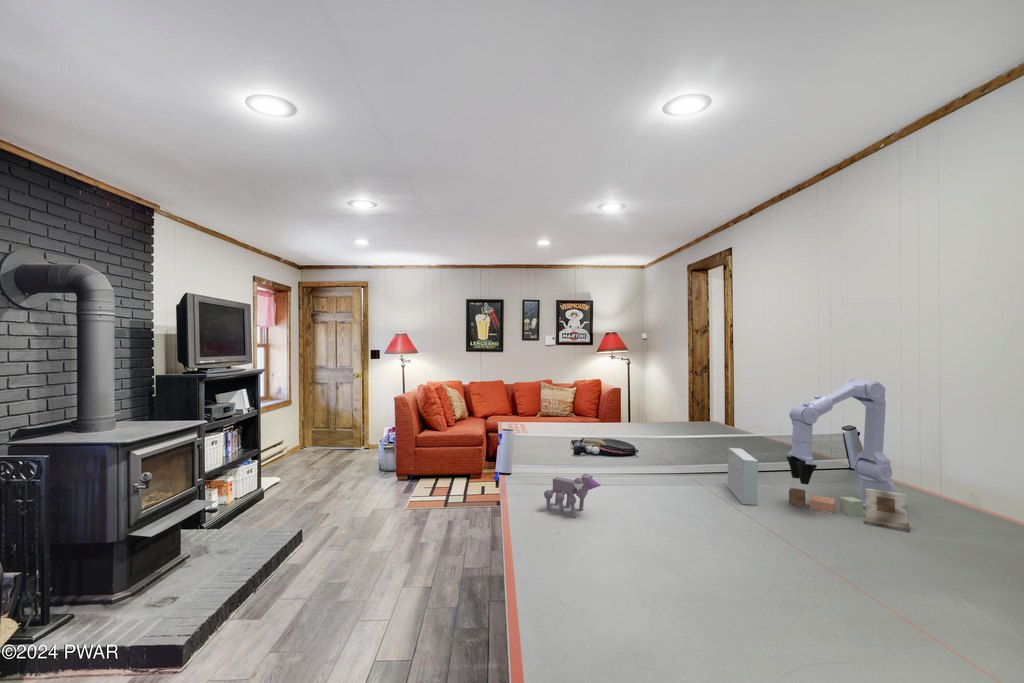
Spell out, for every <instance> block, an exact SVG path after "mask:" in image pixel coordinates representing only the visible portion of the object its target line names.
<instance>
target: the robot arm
mask: <svg viewBox="0 0 1024 683" xmlns="http://www.w3.org/2000/svg"><path fill="white" fill-rule="evenodd" d="M850 398H853V399H855V400H858V401H859V402H860V403H861V404H863V406H865V417H864V430H863V431H864V432H863V434H864V435H863V448H862V449H863V450H861V451H860V452H858V453H857V454H856V459H855V462H854V464H853V469H854V472H855V473H856V474H857V477H858V478H859V496H860V497H859V498H858V499H859V500H861V501H863V508H866V489H873V490H879V491H886V492H893V493H897V490H896V487H895V484H894V483H893V481H891V478H892V476H893V470H892V467H891V460H890V459H889V458H888V457H887V456H886V455H885V453H884V439H885V423H886V422H885V421H886V407H887V406H886V399H885V398H886V387H885V386H884V385H883V384H882V383H880V381H877V380H863V379H854V378H853V379H850V380H847V381H844V382H843V385H842V386H840V387H839V388H837V389H836V390H833V391H832V392H831V393H829V394H827V395H826V396H825V395H815V396H814V398H813V399H811V400H809V401H806V402H804V403H803V404H802V405H796V406H793V407H792V408H791V411H790V412H789V413H788V414H789V415H788V416H789V419H790V420H791V425H792V440H791V442H792V443H791V449H790V450H789V451H788V452H787V455H788V456H786V460H787V462H788V465H789V468H790V474H791V478H792V479H799V481H800V484H801V485H809V483H810V480H811V478H812V475H813V473H814V471H815V470H816V469H817V467H818V466H817V465H816V464H815V463H814V458H813V455H812V447H813V445H812V444H813V427H814V425H813V424H815V423H817V422H818V419H819V417H821V416H823V415H825V414H827V413H828V412H830V411H832V410H833V407H834V405H836V404H837V403H840V402H842V401H845V400H847V399H850Z"/></svg>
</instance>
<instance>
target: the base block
mask: <svg viewBox="0 0 1024 683" xmlns="http://www.w3.org/2000/svg"><path fill="white" fill-rule="evenodd" d="M808 502H809V504H808V505H809V508H808V509H809V510H810V509H814V510H813V511H816V510H820V511H819V512H821V511H826V512H825V513H827V512H831V513H830V514H833V513H834V512H836V498H833V497H827V496H821V495H815V494H810V497H809V501H808ZM834 514H835V513H834Z"/></svg>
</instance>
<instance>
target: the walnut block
mask: <svg viewBox="0 0 1024 683" xmlns="http://www.w3.org/2000/svg"><path fill="white" fill-rule="evenodd" d="M789 504H793V505H792V506H794V505H799V506H804V505H805V506H806V489H801V488H795V487H789V489H788V505H789ZM799 506H798V507H799ZM805 506H804V507H805Z"/></svg>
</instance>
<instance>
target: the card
mask: <svg viewBox="0 0 1024 683" xmlns="http://www.w3.org/2000/svg"><path fill="white" fill-rule="evenodd" d="M907 503H908V502H907V494H905V493H897V492H896V493H893V492H886V491H879V490H873V489H866V507H865V514H863V524H864V523H866V524H865V525H868V524H871V525H870V526H873V525H876V526H875V527H878V526H881V527H880V528H884V527H886V528H885V529H889V528H890V530H894V529H895V530H896V531H899V530H900V531H901V532H905V533H910V531H911V530H910V529H911V528H910V524H909V522H908V519H907V518H908V517H907V516H908V515H907V514H908V513H907V512H908V511H907V510H908V508H907V507H908V506H907V505H908V504H907ZM895 530H894V531H895ZM900 531H899V532H900Z"/></svg>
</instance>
